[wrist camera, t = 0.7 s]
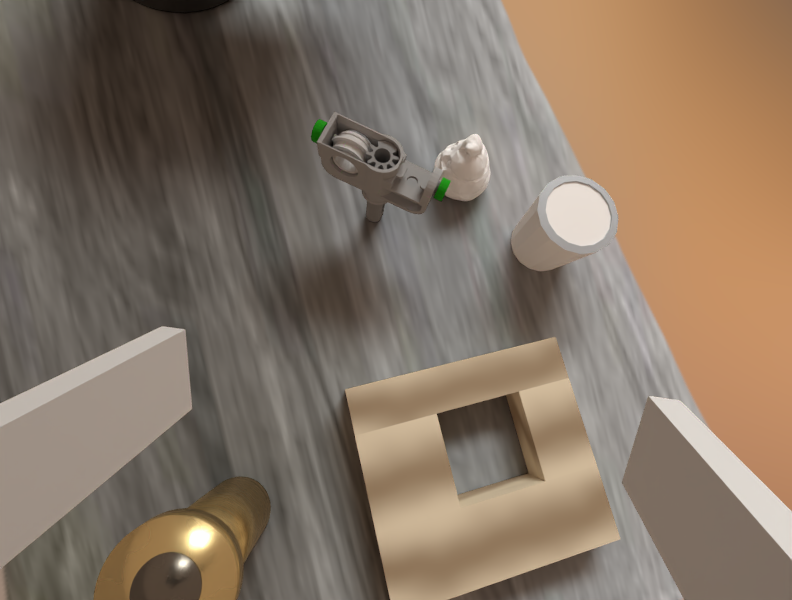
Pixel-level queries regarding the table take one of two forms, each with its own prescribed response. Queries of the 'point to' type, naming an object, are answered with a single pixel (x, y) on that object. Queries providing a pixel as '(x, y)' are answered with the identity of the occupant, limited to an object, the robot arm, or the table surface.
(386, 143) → the mechanical component
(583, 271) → the table surface
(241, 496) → the brass sleeve
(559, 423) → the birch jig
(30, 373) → the table surface
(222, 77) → the table surface
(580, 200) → the white cup
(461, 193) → the garlic bulb
